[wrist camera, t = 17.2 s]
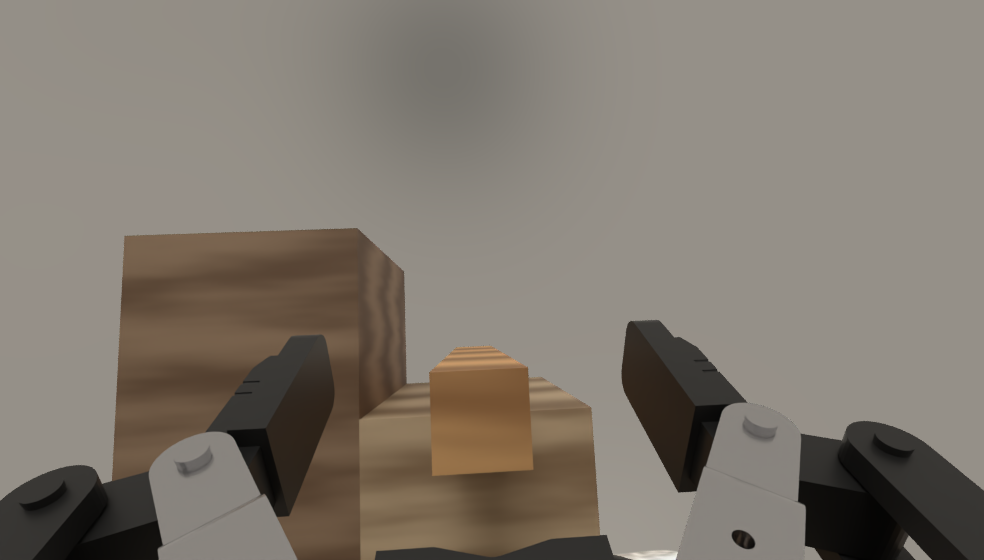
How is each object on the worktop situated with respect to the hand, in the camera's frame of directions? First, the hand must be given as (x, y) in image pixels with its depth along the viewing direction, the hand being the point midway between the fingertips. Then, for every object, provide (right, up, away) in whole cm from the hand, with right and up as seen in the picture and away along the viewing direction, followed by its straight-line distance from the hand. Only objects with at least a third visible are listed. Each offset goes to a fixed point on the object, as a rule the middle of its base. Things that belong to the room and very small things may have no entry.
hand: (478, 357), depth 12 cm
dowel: (0, -5, +14) cm, 15 cm away
